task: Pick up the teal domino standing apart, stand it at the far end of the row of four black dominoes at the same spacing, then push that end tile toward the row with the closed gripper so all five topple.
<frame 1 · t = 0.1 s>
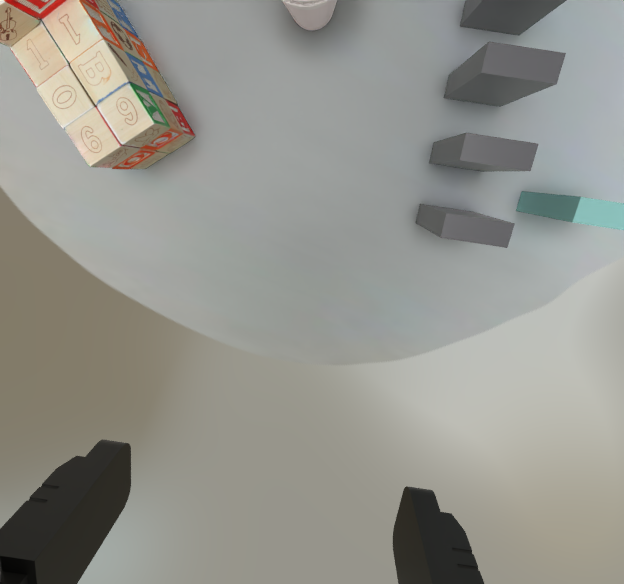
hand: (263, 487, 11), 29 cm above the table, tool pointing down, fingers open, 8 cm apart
domino 2: (474, 91, 34), on the table
domino 1: (492, 18, 32), on the table
smoothie: (312, 6, 33), on the table
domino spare: (545, 205, 36), on the table
domino 3: (458, 157, 36), on the table
domino 4: (443, 217, 37), on the table
stack of blocks: (105, 42, 35), on the table
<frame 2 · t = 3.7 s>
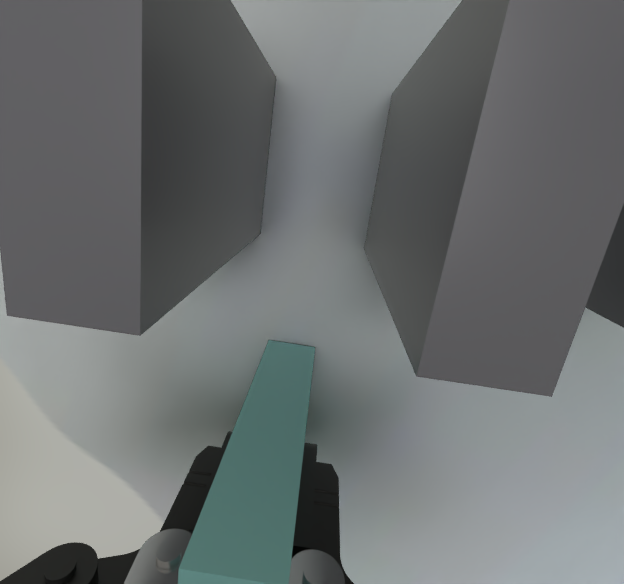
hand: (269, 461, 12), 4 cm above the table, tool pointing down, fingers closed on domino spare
domino 2: (567, 203, 13), on the table
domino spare: (284, 399, 16), on the table, touching gripper
domino 3: (404, 179, 13), on the table
domino 4: (241, 155, 13), on the table
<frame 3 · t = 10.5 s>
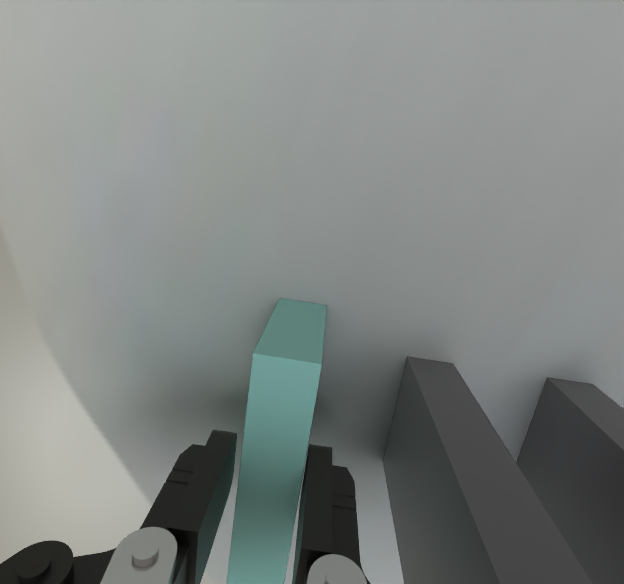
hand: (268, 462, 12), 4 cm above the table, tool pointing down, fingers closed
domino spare: (265, 540, 15), point 2 cm above the table, tilted 91°
domino 3: (549, 434, 16), on the table
domino 4: (416, 414, 16), on the table
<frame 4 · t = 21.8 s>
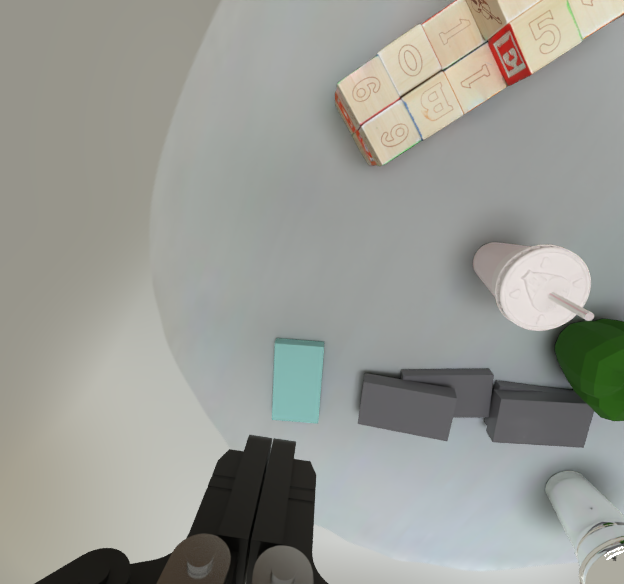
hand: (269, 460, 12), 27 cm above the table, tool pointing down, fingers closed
domino 2: (493, 415, 40), point 2 cm above the table, tilted 90°
domino 1: (490, 402, 41), on the table, tilted 90°
smoothie: (491, 260, 37), on the table
bell pepper: (580, 343, 39), on the table
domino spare: (295, 416, 43), on the table, tilted 90°
cup with straw: (564, 483, 44), on the table
domino 3: (401, 392, 41), on the table, tilted 90°, touching domino 4
domino 4: (361, 398, 40), point 1 cm above the table, tilted 81°, touching domino 3
stack of blocks: (461, 65, 33), on the table
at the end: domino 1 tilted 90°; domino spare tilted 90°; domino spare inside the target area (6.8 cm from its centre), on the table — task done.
